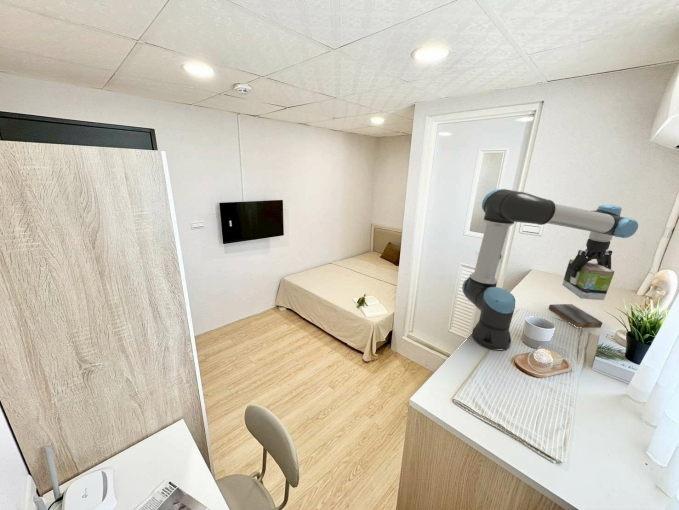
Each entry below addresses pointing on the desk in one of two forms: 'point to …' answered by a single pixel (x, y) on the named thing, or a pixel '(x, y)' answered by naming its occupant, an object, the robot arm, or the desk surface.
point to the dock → (575, 315)
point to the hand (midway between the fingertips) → (584, 283)
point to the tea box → (589, 281)
